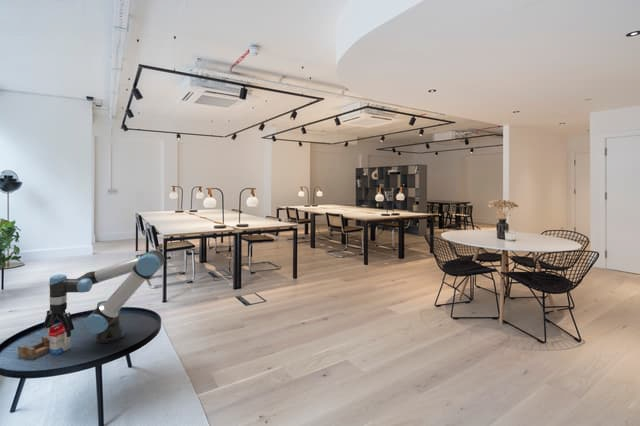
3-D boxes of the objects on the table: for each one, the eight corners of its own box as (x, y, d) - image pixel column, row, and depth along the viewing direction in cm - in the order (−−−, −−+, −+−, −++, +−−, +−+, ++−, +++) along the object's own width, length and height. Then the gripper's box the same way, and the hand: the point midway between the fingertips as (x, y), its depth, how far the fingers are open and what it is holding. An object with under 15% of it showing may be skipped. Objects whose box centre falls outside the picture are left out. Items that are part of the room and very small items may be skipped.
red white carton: (56, 355, 185) (55, 329, 184) (49, 354, 186) (48, 328, 185) (71, 347, 193) (70, 323, 192) (64, 346, 194) (63, 322, 193)
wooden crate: (58, 348, 192) (57, 338, 192) (33, 360, 179) (32, 349, 179) (44, 346, 195) (43, 336, 194) (18, 357, 182) (18, 346, 181)
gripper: (81, 303, 188) (82, 340, 190) (48, 297, 194) (49, 334, 196) (68, 308, 181) (69, 346, 183) (34, 302, 187) (35, 339, 189)
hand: (58, 340), depth 189 cm, fingers open, 12 cm apart
